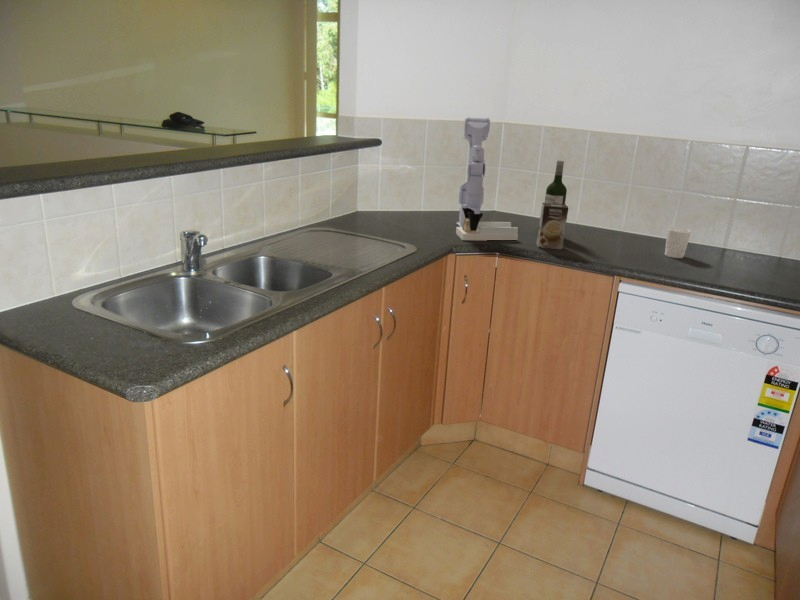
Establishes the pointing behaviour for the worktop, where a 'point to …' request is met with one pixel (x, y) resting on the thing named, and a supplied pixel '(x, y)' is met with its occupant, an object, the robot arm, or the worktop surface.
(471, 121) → the robot arm
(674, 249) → the white cup
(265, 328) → the worktop surface
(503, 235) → the white tray
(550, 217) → the coffee box
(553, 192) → the wine bottle
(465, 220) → the block
